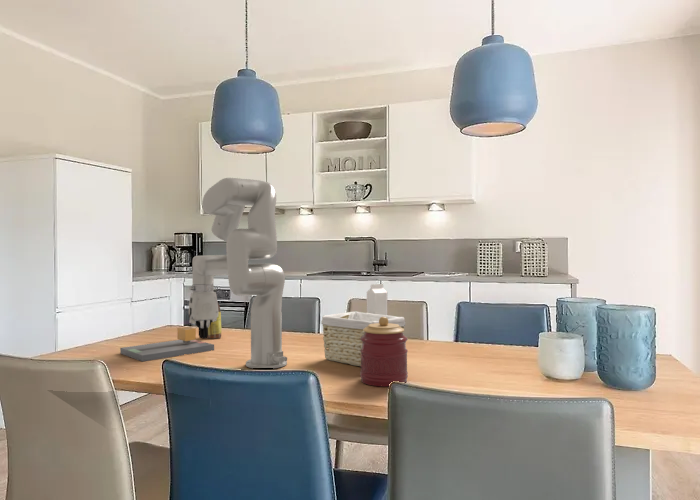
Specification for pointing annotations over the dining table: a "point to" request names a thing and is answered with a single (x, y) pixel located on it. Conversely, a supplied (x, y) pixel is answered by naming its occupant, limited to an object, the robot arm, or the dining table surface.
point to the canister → (383, 354)
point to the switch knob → (186, 334)
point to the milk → (377, 300)
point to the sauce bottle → (215, 325)
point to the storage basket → (349, 334)
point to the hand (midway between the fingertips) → (203, 338)
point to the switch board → (165, 349)
